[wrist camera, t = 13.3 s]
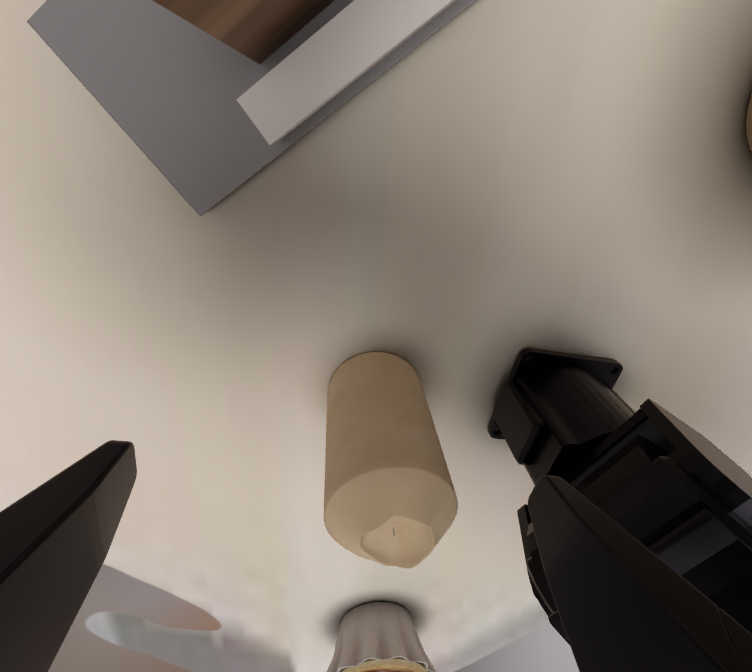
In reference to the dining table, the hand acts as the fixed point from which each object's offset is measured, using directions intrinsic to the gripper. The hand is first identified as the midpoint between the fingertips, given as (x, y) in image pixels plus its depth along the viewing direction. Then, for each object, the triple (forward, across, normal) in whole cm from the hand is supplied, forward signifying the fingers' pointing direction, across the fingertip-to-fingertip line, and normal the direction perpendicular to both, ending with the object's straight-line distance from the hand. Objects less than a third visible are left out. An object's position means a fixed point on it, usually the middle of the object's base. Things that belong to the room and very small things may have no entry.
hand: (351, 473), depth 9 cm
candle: (+13, -3, +7) cm, 15 cm away
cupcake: (+13, -8, +32) cm, 36 cm away
